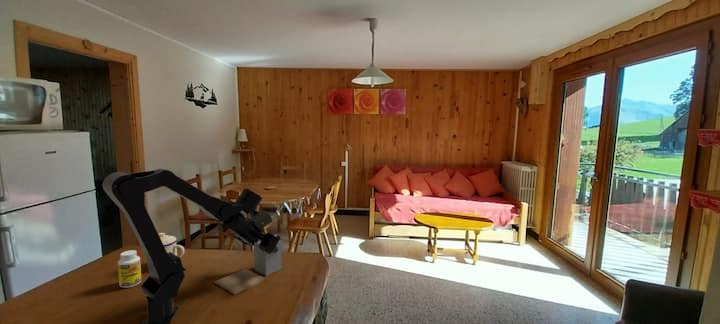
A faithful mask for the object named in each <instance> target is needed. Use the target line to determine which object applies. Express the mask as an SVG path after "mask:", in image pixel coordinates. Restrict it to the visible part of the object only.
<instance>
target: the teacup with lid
mask: <svg viewBox="0 0 720 324" xmlns="http://www.w3.org/2000/svg"><path fill="white" fill-rule="evenodd" d="M158 235H159V237H160V239H161V241H162V243H163V245H164V247H165V249H166V251H167V253H169V252H171V253H173V254H174V255H176V256H178V257H180V259H181V258H182V257H183V256H184V255H185V247H184V246H183V245H181V244H177V241H178V239H177V238H176V236H174V235H167V234H166V233H165V232H159V233H158ZM177 249H180V251H181V252H180V255H178V250H177Z"/></svg>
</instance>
